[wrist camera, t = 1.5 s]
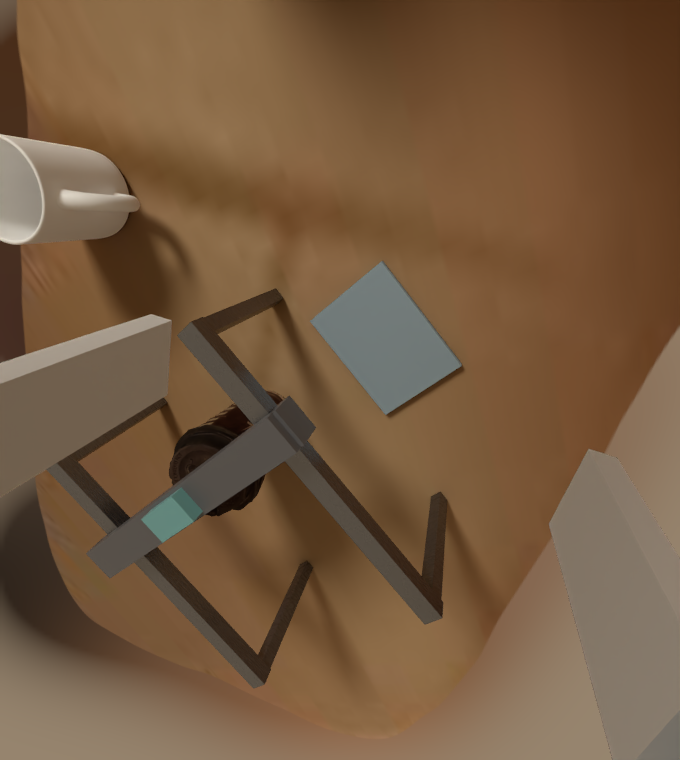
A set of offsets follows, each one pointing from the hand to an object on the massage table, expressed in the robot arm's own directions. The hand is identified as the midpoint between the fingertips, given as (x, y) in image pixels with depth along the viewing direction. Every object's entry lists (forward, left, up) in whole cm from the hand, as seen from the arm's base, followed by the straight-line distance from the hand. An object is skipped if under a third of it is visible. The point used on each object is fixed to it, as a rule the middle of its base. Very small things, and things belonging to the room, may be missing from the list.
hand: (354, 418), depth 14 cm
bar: (+1, -22, -15) cm, 27 cm away
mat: (+2, -6, -28) cm, 29 cm away
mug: (-26, -19, -29) cm, 43 cm away
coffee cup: (+1, -22, -29) cm, 36 cm away
